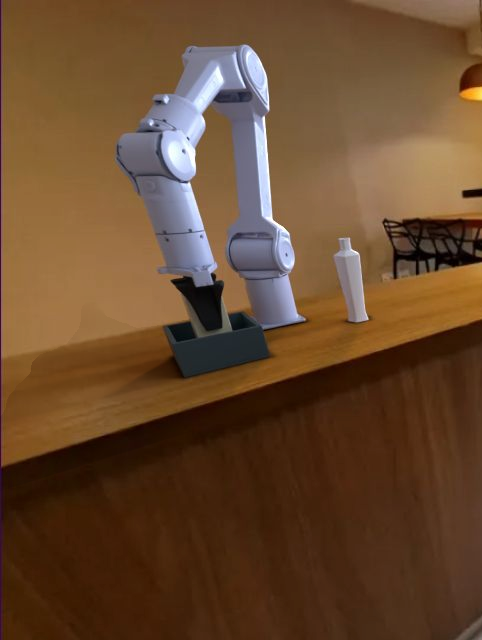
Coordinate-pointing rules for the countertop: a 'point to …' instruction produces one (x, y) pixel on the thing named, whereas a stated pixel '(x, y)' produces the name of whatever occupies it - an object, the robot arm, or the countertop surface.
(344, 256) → the perfume bottle
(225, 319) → the juice carton
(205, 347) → the bin
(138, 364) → the countertop surface
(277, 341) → the countertop surface
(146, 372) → the countertop surface
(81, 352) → the countertop surface
